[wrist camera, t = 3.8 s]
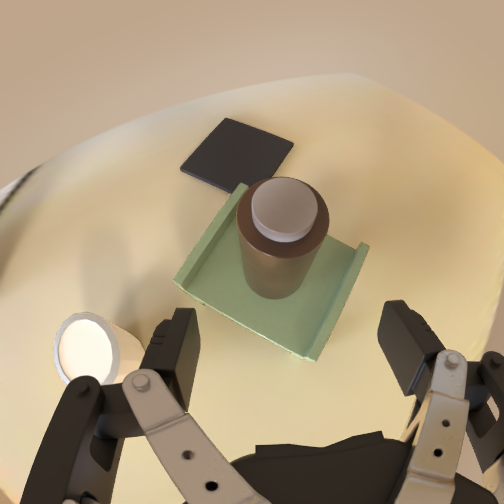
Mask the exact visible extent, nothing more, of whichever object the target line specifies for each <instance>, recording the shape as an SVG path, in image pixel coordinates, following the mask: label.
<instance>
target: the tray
mask: <svg viewBox="0 0 504 504" xmlns="http://www.w3.org/2000/svg"><path fill="white" fill-rule="evenodd" d="M248 189H249V188H248V186H247V185H245V184H243V183H240V184H239V185H238V187H237V188H236V190H235V191H234V192H233V194H232V195H231V196H230V198H229V199H228V201H227V202H226V203H225V205H224V206H223V208H222V209H221V210H220V212H219V213H218V215H217V216H216V217H215V219H214V220H213V222H212V223H211V225H210V226H209V227H208V229H207V230H206V232H205V233H204V235H203V236H202V238H201V239H200V240H199V242H198V243H197V245H196V246H195V248H194V249H193V251H192V252H191V254H190V255H189V257H188V258H187V260H186V261H185V263H184V264H183V266H182V267H181V269H180V270H179V272H178V273H177V275H176V276H175V278H174V279H173V282H174V283H175V284H176V285H177V286H178V287H179V288H180V289H181V290H183V291H185V292H186V293H188V294H190V295H191V296H192V298H193V299H194V300H196V301H198V302H199V303H201V304H203V305H205V304H206V305H208V306H209V307H211V308H213V309H214V310H216V311H218V312H219V313H221V314H223V315H224V316H226V317H228V318H230V319H231V320H233V321H235V322H236V323H238V324H240V325H242V326H243V327H245V328H247V329H249V330H251V331H252V332H254V333H256V334H258V335H260V336H261V337H263V338H265V339H267V340H269V341H271V342H272V343H274V344H276V345H278V346H280V347H282V348H284V349H285V350H287V351H289V352H291V353H290V354H291V355H293V356H295V357H297V358H299V359H305V360H307V361H309V362H316V361H317V359H318V358H319V356H320V354H321V352H322V350H323V348H324V346H325V344H326V342H327V340H328V338H329V336H330V334H331V332H332V330H333V328H334V326H335V324H336V322H337V320H338V318H339V316H340V314H341V312H342V310H343V308H344V305H345V303H346V301H347V299H348V297H349V294H350V292H351V290H352V288H353V286H354V283H355V281H356V279H357V276H358V274H359V272H360V269H361V267H362V265H363V262H364V260H365V257H366V255H367V252H368V250H369V246H368V245H366V244H364V243H362V242H361V243H360V245H359V246H358V247H357V249H356V250H355V249H353V248H351V247H349V246H348V245H346V244H344V243H342V242H340V241H338V240H336V239H334V238H332V237H330V236H328V235H327V234H326V236H325V238H324V240H323V242H322V244H321V246H320V248H319V250H318V252H317V254H316V256H315V258H314V260H313V262H312V264H311V266H310V268H309V270H308V272H307V274H306V276H305V278H304V280H303V282H302V284H301V285H300V287H299V288H298V289H297V291H295V292H294V293H293V294H292V295H290V296H288V297H286V298H283V299H276V300H274V299H267V298H264V297H261V296H259V295H258V294H256V293H255V292H254V291H253V290H252V289H251V288H250V287H249V286H248V284H247V282H246V279H245V276H244V270H243V263H242V256H241V249H240V242H239V235H238V228H237V221H236V213H237V207H238V204H239V201H240V199H241V198H242V196H243V195H244V193H245V192H246V191H247V190H248Z"/></svg>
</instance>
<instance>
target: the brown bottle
mask: <svg viewBox="0 0 504 504" xmlns="http://www.w3.org/2000/svg"><path fill="white" fill-rule="evenodd" d="M236 221H237V228H238V235H239V242H240V249H241V256H242V263H243V270H244V276H245V279H246V282H247V284H248V286H249V287H250V288H251V289H252V290H253V291H254V292H255V293H256V294H258V295H259V296H261V297H264V298H267V299H274V300H276V299H283V298H286V297H288V296H290V295H292V294H293V293H294V292H295V291H297V289H298V288H299V287H300V285H301V284H302V282H303V280H304V278H305V276H306V274H307V272H308V270H309V268H310V266H311V264H312V262H313V260H314V258H315V256H316V254H317V252H318V250H319V248H320V246H321V244H322V242H323V240H324V238H325V236H326V234H327V231H328V227H329V213H328V209H327V206H326V204H325V202H324V200H323V198H322V197H321V195H320V194H319V193H318V192H317V191H316V190H315V189H314V188H313V187H311V186H310V185H308V184H306V183H304V182H302V181H300V180H297V179H294V178H289V177H273V178H268V179H264V180H262V181H259V182H258V183H256V184H254V185H253V186H251V187H250V188H249V189H248V190H247V191H246V192H245V193H244V195H243V196H242V198H241V199H240V201H239V204H238V207H237V213H236Z"/></svg>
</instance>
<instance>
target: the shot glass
mask: <svg viewBox="0 0 504 504" xmlns="http://www.w3.org/2000/svg"><path fill="white" fill-rule="evenodd" d="M53 352H54V362H55V366H56V368H57V371H58V373H59V375H60V378H61V379H62V380H63V382H64V383H65V384H66V385H68V384H69V383H70V382H71V381H72V380H73V379H74V378H76V377H79V376H83V375H89V376H92V377H95V378H96V379H97V380H98V381H99V383H100V385H108V384H117V383H122V382H123V380H124V378H125V377H126V376H127V375H128V374H129V373H131V372H132V371H135V370H138V369H139V367H140V364H141V362H142V359H143V357H144V355H145V351H144V349H143V347H142V345H141V343H140V341H139V340H138V339H137V338H135V337H134V336H133V335H132V334H130V333H129V332H127V331H125V330H123V329H121V328H120V327H118V326H116V325H114V324H113V323H111V322H109V321H107V320H106V319H104V318H102V317H101V316H98V315H95V314H92V313H89V312H82V313H76V314H73V315H72V316H71V317H69V318H68V319H66V320H65V321H64V322H63V323H62V325H61V327H60V328H59V330H58V332H57V333H56V337H55V342H54V347H53Z"/></svg>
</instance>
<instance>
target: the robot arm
mask: <svg viewBox="0 0 504 504" xmlns="http://www.w3.org/2000/svg"><path fill="white" fill-rule="evenodd" d="M377 336H378V342H379V344H380V346H381V348H382V350H383V352H384V354H385V356H386V358H387V360H388V362H389V364H390V366H391V368H392V370H393V372H394V375H395V377H396V379H397V381H398V383H399V385H400V387H401V389H402V391H403V394H404V396H410V395H414V394H415V395H416V397H417V398H416V399H415V401H414V403H413V406H412V409H411V412H410V415H409V418H408V421H407V423H406V426H405V429H404V431H403V434H402V436H401V438H400V440H394V439H387V438H384V437H383V434H382V431H377V432H372V433H367V434H362V435H357V436H352V437H350V438H347V439H345V440H342V441H340V442H337V443H335V444H332V445H329V446H326V447H310V446H301V445H293V444H277V445H255V447H256V453H254V454H249V455H246V456H243V457H240V458H238V459H236V460H234V461H232V462H230V463H229V462H228V461H227V460H226V458H225V457H224V456H223V455H222V454H221V452H220V451H219V450H218V449H217V448H216V446H215V445H214V444H213V443H212V442H211V440H210V439H209V438H208V437H207V435H206V434H205V433H204V432H203V430H202V429H201V428H200V426H199V425H198V424H197V422H196V421H195V420H194V418H193V417H192V416H191V415H190V414H189V413H185V412H188V407H189V402H190V397H191V392H192V387H193V382H194V377H195V372H196V367H197V362H198V358H199V353H200V334H199V328H198V322H197V316H196V310H195V308H176V310H175V312H174V315H173V317H172V320H167V319H164V320H163V321H162V322H161V323H160V324H159V325H158V326H157V327H156V329H155V331H154V333H153V337H152V338H151V340H150V344H149V345H148V347H147V350H146V352H145V355H144V357H143V359H142V362H141V364H140V367H139V369H138V370H135V371H132V372H131V373H129V374H128V375H127V376H126V377H125V378H124V380H123V382H122V383H117V384H108V385H100V383H99V381H98V380H97V379H96V378H95V377H92V376H89V375H83V376H79V377H76V378H74V379H73V380H72V381H71V382H70V383H69V384H68V385H67V387H66V389H65V391H64V393H63V395H62V397H61V399H60V401H59V404H58V406H57V408H56V410H55V412H54V414H53V417H52V419H51V421H50V423H49V426H48V428H47V430H46V433H45V435H44V437H43V440H42V442H41V445H40V447H39V450H38V452H37V455H36V457H35V460H34V463H33V465H32V468H31V471H30V474H29V476H28V479H27V482H26V485H25V488H24V491H23V495H22V498H21V501H20V504H110V503H111V498H112V493H113V488H114V483H115V478H116V474H117V469H118V465H119V460H120V456H121V452H122V448H123V444H124V440H125V438H128V437H137V436H146V438H147V440H148V442H149V444H150V445H151V447H152V449H153V451H154V452H155V454H156V456H157V457H158V459H159V461H160V462H161V464H162V465H163V467H164V469H165V470H166V472H167V473H168V475H169V476H170V478H171V480H172V481H173V483H174V484H175V486H176V487H177V488H178V490H179V491H180V493H181V494H182V496H183V497H184V498H185V500H186V501H185V502H184V503H183V504H504V356H502V355H501V354H499V353H497V352H494V351H490V352H486V353H485V354H484V355H483V357H482V359H481V361H480V362H473V361H466V359H465V357H464V356H463V355H462V354H460V353H459V352H457V351H454V350H446V348H445V347H444V346H443V344H442V343H441V341H440V340H439V339H438V337H437V336H436V334H435V333H434V332H433V330H432V331H431V328H430V326H429V325H427V322H426V321H425V320H424V318H423V317H422V316H421V315H420V314H418V313H417V312H415V311H414V310H410V308H409V307H408V306H407V304H406V303H405V302H404V301H403V300H393V301H386V302H385V304H384V307H383V311H382V315H381V319H380V323H379V327H378V333H377ZM491 396H492V398H493V399H494V401H495V403H496V405H497V407H498V409H499V418H498V420H497V421H496V419H495V417H494V415H493V413H492V412H491V410H490V408H489V406H488V404H487V401H488V400H489V398H490V397H491ZM465 430H466V432H467V435H468V437H469V439H470V442H471V444H472V447H473V449H474V452H475V454H476V457H477V460H478V462H479V465H480V468H481V470H482V473H483V477H482V484H481V485H478V484H476V483H475V482H473V481H471V480H469V479H467V478H466V477H464V476H462V475H460V474H458V473H457V472H456V469H457V466H458V461H459V457H460V454H461V449H462V445H463V440H464V435H465Z"/></svg>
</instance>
